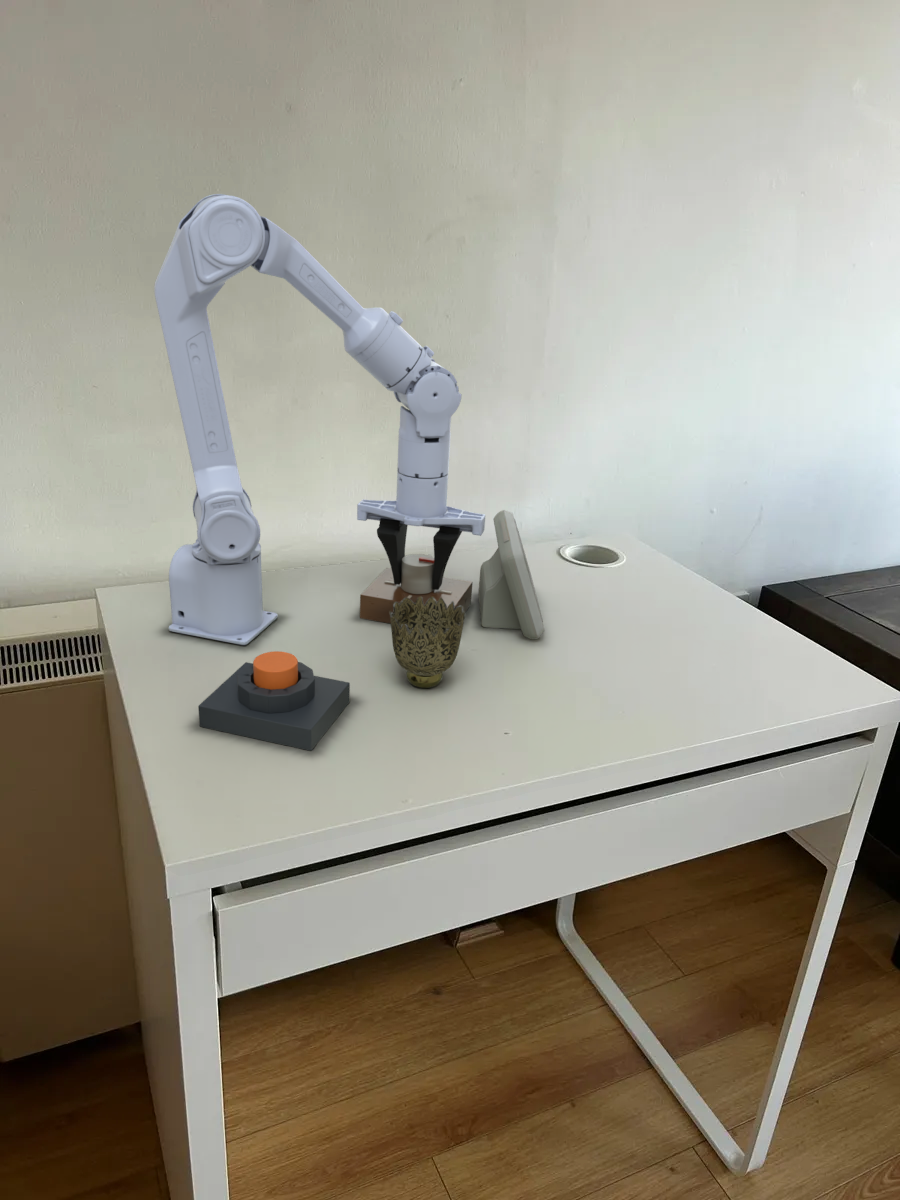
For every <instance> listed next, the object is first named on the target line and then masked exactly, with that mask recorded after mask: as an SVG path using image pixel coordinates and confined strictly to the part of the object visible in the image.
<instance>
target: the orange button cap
mask: <svg viewBox="0 0 900 1200" xmlns="http://www.w3.org/2000/svg"><path fill="white" fill-rule="evenodd" d="M298 662H299V661H298V658H297V656H295V654H292V653H290V652H287V651H280V650H279V651H278V650H277V651H276V650H275V651H267V652H264V653H261V654H259V655H257V656H256V657H255V658H254V659H253V662H252V663H253V672H254V683H255V685H256V686H257V687H260V688H265V689H270V690H273V689H285V688H287V687H290V686H293V685H296V683H297V682H298Z"/></svg>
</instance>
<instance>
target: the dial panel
mask: <svg viewBox="0 0 900 1200" xmlns="http://www.w3.org/2000/svg"><path fill="white" fill-rule="evenodd" d="M472 592H473V581H471V580H464V579H458V578H452V577H447V576H443V580H442V585H441V586H440V588H439V590H433V591H432V592H430V593H427V594H412V593H408V592H405V591H404V590H402V588H401V583H400V585H398V584H394V579H393V573H392V569H391V567H386V568H385V569H383V571H382V572H381V573H380V574H379V575H378V576H377V577H376V578H375V579H374V580H373V581H372V582H371V583H370V584H369V585H368V586H367V587H366V588H365V589H364V590H363V591H362V592H361V593H360V595H359V596H360V597H359V619H363V620H368V621H373V622H378V623H385V624H390V625H391V620H390V613H389V612H390V611H391V613H393V604H394V602H398V603H399V604H400V602H401V601H402V600H403V599H404V598H405V597H407V598H409V599H411V600H412V602H413V603H414V602H415V603H416V600H417V598H418V597H420V596H421V597H422V600H423V603H424V605H425V604H426V602H427V600H428V599H429V598H430V597H432V596H433V597H434V598H435V600H436V601H438V600H439V598H442V599H443V600H444V602H445V603H446V605H447V607H448V606H449V604H450V603H451V602H452V601H453V602H454V605H455V608H456V607H457V606H463V612H465V613H467V612H468V611H467V610H468V609H469V608H470V606H471V605H472V595H473V593H472Z"/></svg>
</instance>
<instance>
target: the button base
mask: <svg viewBox="0 0 900 1200" xmlns="http://www.w3.org/2000/svg"><path fill="white" fill-rule="evenodd" d="M350 688H351V687H350V682H349V681H344V680H339V679H333V678H330V677H329V678H328V677H325V676H324V677H323V676H319V675H314V671H313V668H311V667H309V665H306V664H304V663H303V662H301V661H298V682H297V683H296V685H293V686H290V687H287V688H285V689H273V690H270V689H265V688H260V687H257V686H256V685H255V683H254V672H253V662H247V661H246V662H244V663H243V664H242V665H241V666H240V667H239V668H237V670H236V671H235V672H233V674H231V675H230V676H229V677H228V678H226V680H225V681H223V683H221V684H220V685H219V686H218V687H217V688H216V689H215V690H214V691H213V692H212V693H211V694H209V695H208V696H207V697H206V698H205V699H204V700H203V701H202V702H201V703H200V704H198V720H199V721H198V723H199V727H201V728H205V729H208V730H214V731H219V732H223V733H228V734H232V735H237V736H241V737H245V738H250V739H254V740H258V741H259V740H260V741H265V742H270V743H274V744H278V745H283V746H288V747H292V748H296V749H301V750H305V751H310V752H311V751H313V750H314V748H315V747H316V745H317V744H318V743H319V742H320V740H321V739H322V738H323V737H324V735H325V734H326V733H327V732H328V730H329V729H330V728H331V726H332V725H333V724H334V723H335V721H336V720H338V719H337V718H339V716H340V715H341V713H342V712H343V711H344V710H345V708H346V707H347V706H348V705H349V703H350V697H351V696H350V693H351V692H350V690H351V689H350Z"/></svg>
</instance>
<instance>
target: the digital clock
mask: <svg viewBox="0 0 900 1200" xmlns="http://www.w3.org/2000/svg"><path fill="white" fill-rule="evenodd" d="M517 524H518V523H517V522H516V518H515V516H514V513H513V512H511V511H508V510H506V509H502V510H500V511H498V512H497V513H496V514H495V516H494V517H493V525H494V531H495V536H496V542H497V549H496V550H495V551H494V553H493V554H492V556H491V557H490V558H489V559H487V560H486V561H483V562H482V563H481V566H480V569H479V581H478V594H477V595H478V605H479V615H480V624H481V626H482V627H484V628H487V629H488V628H489V629H490V628H492V629H510V630H511V629H512V630H521V632H522V636H524V637H525V638H528V639H530V640H537V639H539V638H540V637H541V636H542V635H543V633H544V632H545V625H544V620H543V615H542V612H541V608H540V604H539V600H538V597H537V593H536V588H535V584H534V580H533V577H532V573H531V570H530V567H529V566H530V565H529V563H528V562H529V561H528V560H527V556H526V552H525V549H524V546H523V542H522V538H521V535H520V531H519V527H518V525H517Z"/></svg>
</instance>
